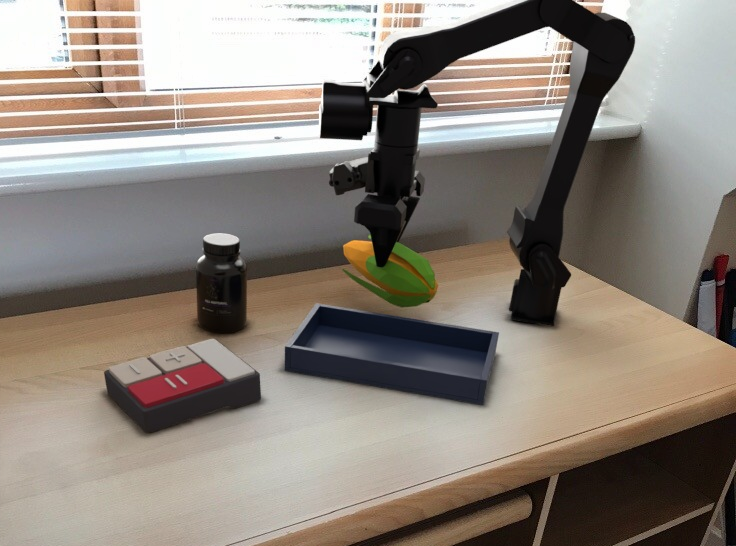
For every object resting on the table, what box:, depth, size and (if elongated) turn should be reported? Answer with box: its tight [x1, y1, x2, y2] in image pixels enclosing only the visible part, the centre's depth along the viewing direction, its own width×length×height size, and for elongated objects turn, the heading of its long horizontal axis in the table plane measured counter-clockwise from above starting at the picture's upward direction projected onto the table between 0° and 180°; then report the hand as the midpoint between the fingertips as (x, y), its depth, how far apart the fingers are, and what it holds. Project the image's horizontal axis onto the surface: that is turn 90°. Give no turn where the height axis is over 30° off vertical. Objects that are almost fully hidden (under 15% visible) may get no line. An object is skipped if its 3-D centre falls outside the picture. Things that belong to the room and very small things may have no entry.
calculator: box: [103, 338, 262, 434], centre depth 100 cm, size 11×4×15 cm
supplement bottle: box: [195, 233, 248, 334], centre depth 115 cm, size 7×7×12 cm
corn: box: [341, 234, 439, 308], centre depth 122 cm, size 7×8×20 cm
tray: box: [283, 302, 500, 406], centre depth 111 cm, size 26×15×3 cm, turn 76°
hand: (386, 258), depth 121 cm, fingers closed on corn, 7 cm apart
